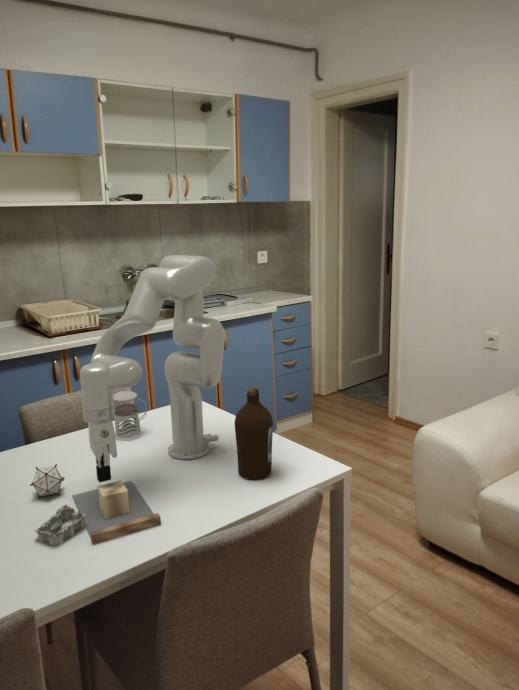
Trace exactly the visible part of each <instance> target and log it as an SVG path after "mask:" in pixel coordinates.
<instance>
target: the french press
mask: <svg viewBox="0 0 519 690" xmlns="http://www.w3.org/2000/svg"><path fill="white" fill-rule="evenodd" d="M137 396H138V393H137V392H134V391H131V390H126V388H123V390H121V391H119V392H116V393H113V399H114V402H119V403H120V402H121V403H124V404H119V405H117V406H116V407H115V406H114V412H115V418H114V427H115V428H114V430H115V432H114V433H115V441H117V442H131V441H134V440H137V439H140V438H141V437H143V435H144V432H143V431H142V430H141V423H140V422H141V420H143V419H145V417H146V415H147V412H148V408H147V404H146V402H145V400H143V399H142V398H140V397H137ZM133 400H136V404H139V401H140V402H143V404H144V407H145V409H144V413H143V414H142V416H140V417H139V410H138V409H137V408H138V407H137V405H136V404H133V403H127V402H130V401H133Z"/></svg>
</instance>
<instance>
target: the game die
mask: <svg viewBox="0 0 519 690" xmlns="http://www.w3.org/2000/svg"><path fill="white" fill-rule="evenodd" d="M57 466H58V464H57V463H55V465H54V466H49V467H43V468H38V467H37V466H35V469H36V473H35V477H34V479H33V481H32V482H31V483H30V484H29V486H30V487H32V486H33V488H34V489H35V491H36V492H37V494H38V495H39V496H38V499H41V498H42V497H45V496H51V495H57V496H60V495H61V493H60V488H61V485H62V482H63V481H65V478H66V477H65V476H61V474H60V472H59V470H58V468H57Z"/></svg>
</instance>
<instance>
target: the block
mask: <svg viewBox="0 0 519 690" xmlns="http://www.w3.org/2000/svg"><path fill="white" fill-rule="evenodd" d="M96 488H97V489H98V496H99V506H100V509H101V511H102V513H103V515H104V517H105V519H107V518H111V517H115V516H118V515H122V514H126V513H129V500H128V490H127V489H126V487H125V486H124V484H123V481H122V480H116V481H113V482H109V483H105V484H101V485H97V487H96Z"/></svg>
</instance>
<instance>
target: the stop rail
mask: <svg viewBox="0 0 519 690" xmlns="http://www.w3.org/2000/svg"><path fill="white" fill-rule="evenodd" d="M161 519H162V518H161V515H160V514H159V512H157V513H154V514H153V515H149V516H146V517H142V518H139V519H135V520H132V521H128V522H125V523H121V524H118V525H114V526H111V527H107V528H104V529H100V530H97V531H93V532H90V533H91V539H90V541H91V543H92V545H95V544H100V543H103V542H107V541H110V540H113V539H116V538H120V537H124V536H126V535H131V534H134V533H137V532H140V531H144V530H146V529H151V528H153V527H157V526H160V525H162V520H161Z"/></svg>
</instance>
